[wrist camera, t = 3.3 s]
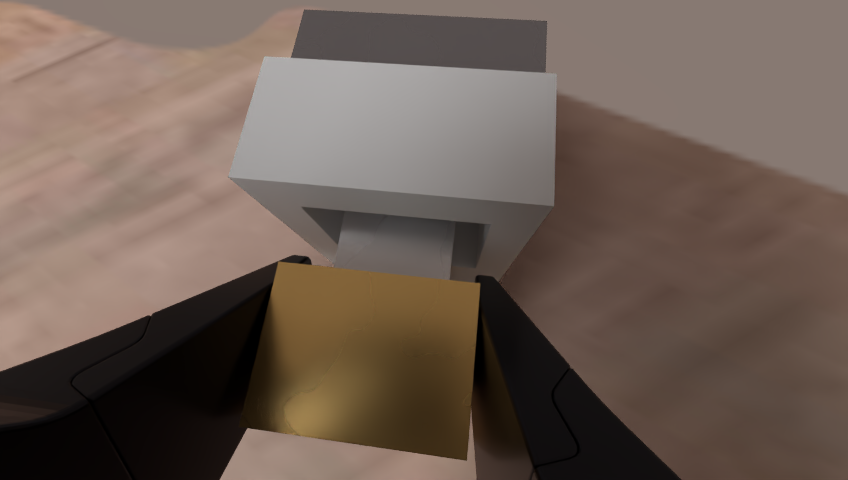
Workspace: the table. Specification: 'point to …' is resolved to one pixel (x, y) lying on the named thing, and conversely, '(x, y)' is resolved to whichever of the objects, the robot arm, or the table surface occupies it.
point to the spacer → (423, 40)
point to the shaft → (371, 342)
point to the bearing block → (403, 152)
